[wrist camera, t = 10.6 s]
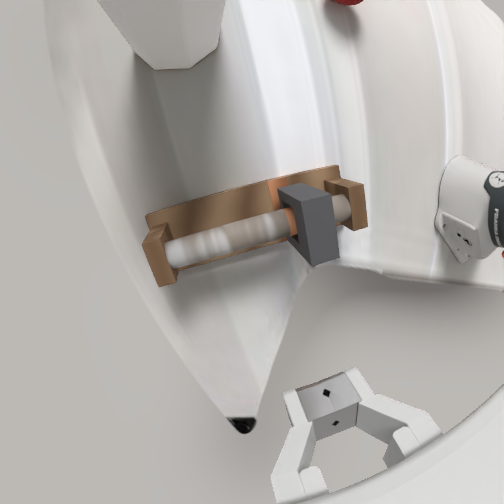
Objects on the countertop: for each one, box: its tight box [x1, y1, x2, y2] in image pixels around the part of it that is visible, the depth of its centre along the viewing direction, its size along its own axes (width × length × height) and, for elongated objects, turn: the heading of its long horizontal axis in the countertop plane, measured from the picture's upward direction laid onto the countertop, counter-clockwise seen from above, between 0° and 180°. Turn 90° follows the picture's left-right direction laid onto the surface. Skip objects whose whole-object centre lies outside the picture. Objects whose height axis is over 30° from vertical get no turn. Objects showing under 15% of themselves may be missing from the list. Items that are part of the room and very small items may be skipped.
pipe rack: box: [142, 165, 368, 287], centre depth 31 cm, size 25×8×8 cm, turn 104°
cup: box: [97, 0, 226, 70], centre depth 16 cm, size 11×11×18 cm
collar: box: [277, 183, 339, 266], centre depth 28 cm, size 3×6×8 cm, turn 14°
